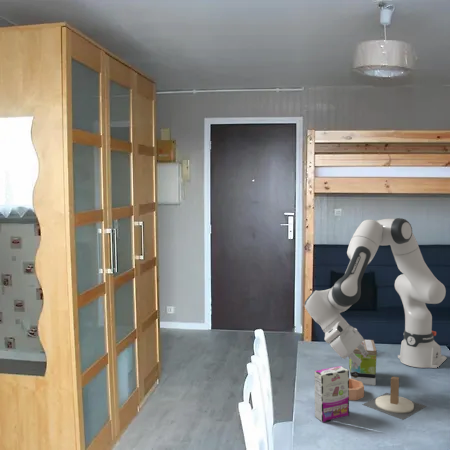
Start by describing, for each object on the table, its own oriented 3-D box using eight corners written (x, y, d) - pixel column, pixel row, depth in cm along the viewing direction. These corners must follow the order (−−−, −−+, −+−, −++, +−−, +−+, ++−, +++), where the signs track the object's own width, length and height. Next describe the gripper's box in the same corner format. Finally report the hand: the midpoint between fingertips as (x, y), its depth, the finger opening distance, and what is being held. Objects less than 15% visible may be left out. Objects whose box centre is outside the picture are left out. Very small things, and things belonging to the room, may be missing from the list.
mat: (386, 394, 194) (386, 392, 194) (426, 407, 182) (426, 406, 182) (362, 406, 184) (362, 404, 184) (403, 421, 172) (403, 419, 171)
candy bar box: (340, 410, 180) (341, 365, 179) (349, 416, 175) (350, 369, 174) (313, 416, 175) (313, 370, 174) (321, 422, 171) (322, 374, 170)
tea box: (376, 387, 201) (377, 350, 200) (350, 385, 203) (350, 348, 202) (373, 373, 216) (373, 339, 214) (348, 371, 218) (349, 337, 217)
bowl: (344, 387, 201) (344, 376, 200) (368, 395, 192) (369, 384, 192) (326, 394, 194) (327, 383, 193) (351, 404, 185) (351, 392, 185)
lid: (379, 395, 192) (380, 369, 191) (416, 402, 185) (417, 375, 184) (371, 408, 180) (372, 380, 179) (410, 416, 174) (411, 387, 173)
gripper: (339, 327, 201) (364, 356, 197) (323, 341, 183) (349, 373, 179) (351, 317, 199) (376, 346, 195) (335, 331, 181) (362, 362, 177)
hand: (363, 359), depth 187 cm, fingers open, 8 cm apart
